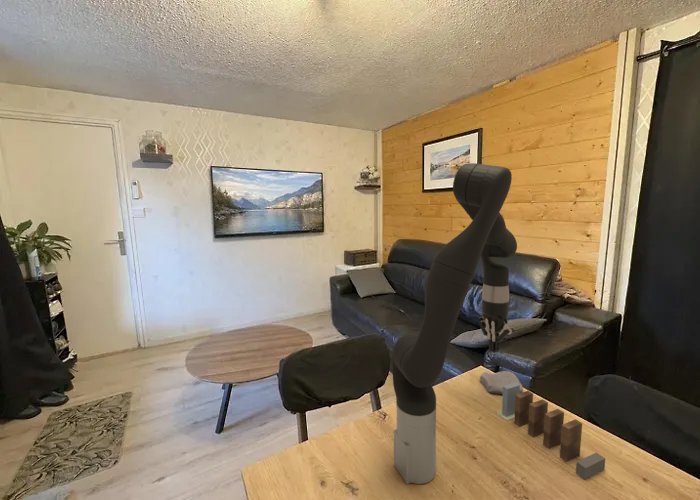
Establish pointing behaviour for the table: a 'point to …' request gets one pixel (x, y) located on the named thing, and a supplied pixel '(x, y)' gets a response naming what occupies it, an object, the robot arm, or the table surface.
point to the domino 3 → (537, 417)
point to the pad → (505, 416)
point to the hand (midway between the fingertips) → (493, 351)
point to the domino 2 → (522, 408)
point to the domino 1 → (509, 398)
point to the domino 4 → (553, 428)
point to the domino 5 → (570, 440)
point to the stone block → (498, 381)
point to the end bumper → (590, 465)
